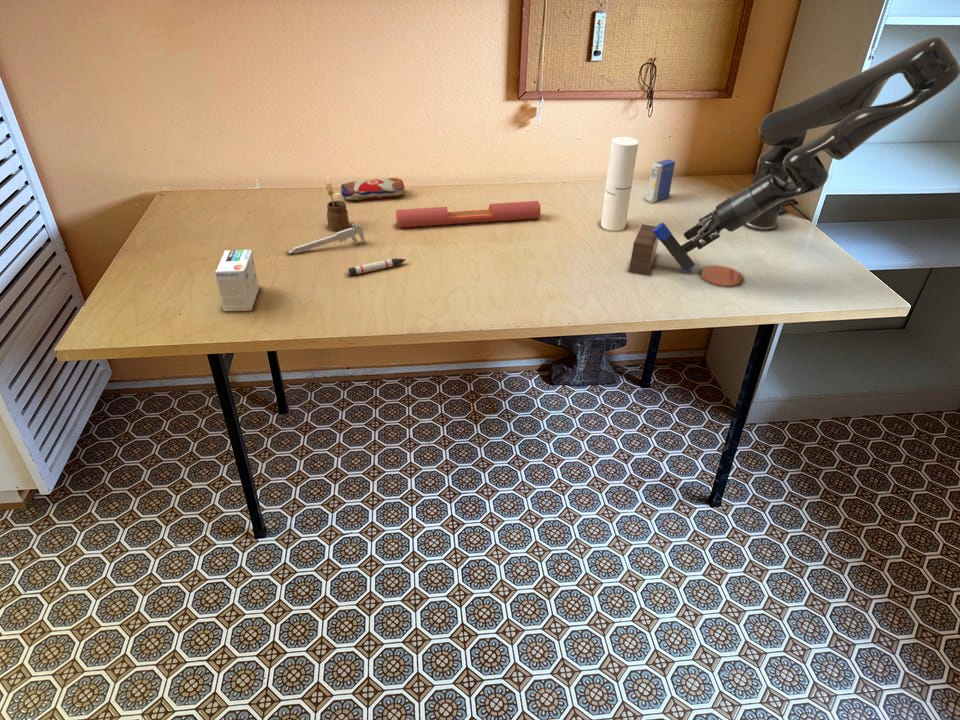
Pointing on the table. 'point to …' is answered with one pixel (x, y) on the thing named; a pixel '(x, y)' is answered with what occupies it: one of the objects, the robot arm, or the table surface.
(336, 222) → the utensil holder
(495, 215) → the blood vessel
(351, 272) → the marker
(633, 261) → the walnut block
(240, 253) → the light bulb box
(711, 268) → the coaster
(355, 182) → the pencil case
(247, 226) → the table surface
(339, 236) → the caliper
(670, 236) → the felt marker
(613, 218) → the cylindrical container
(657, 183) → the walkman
